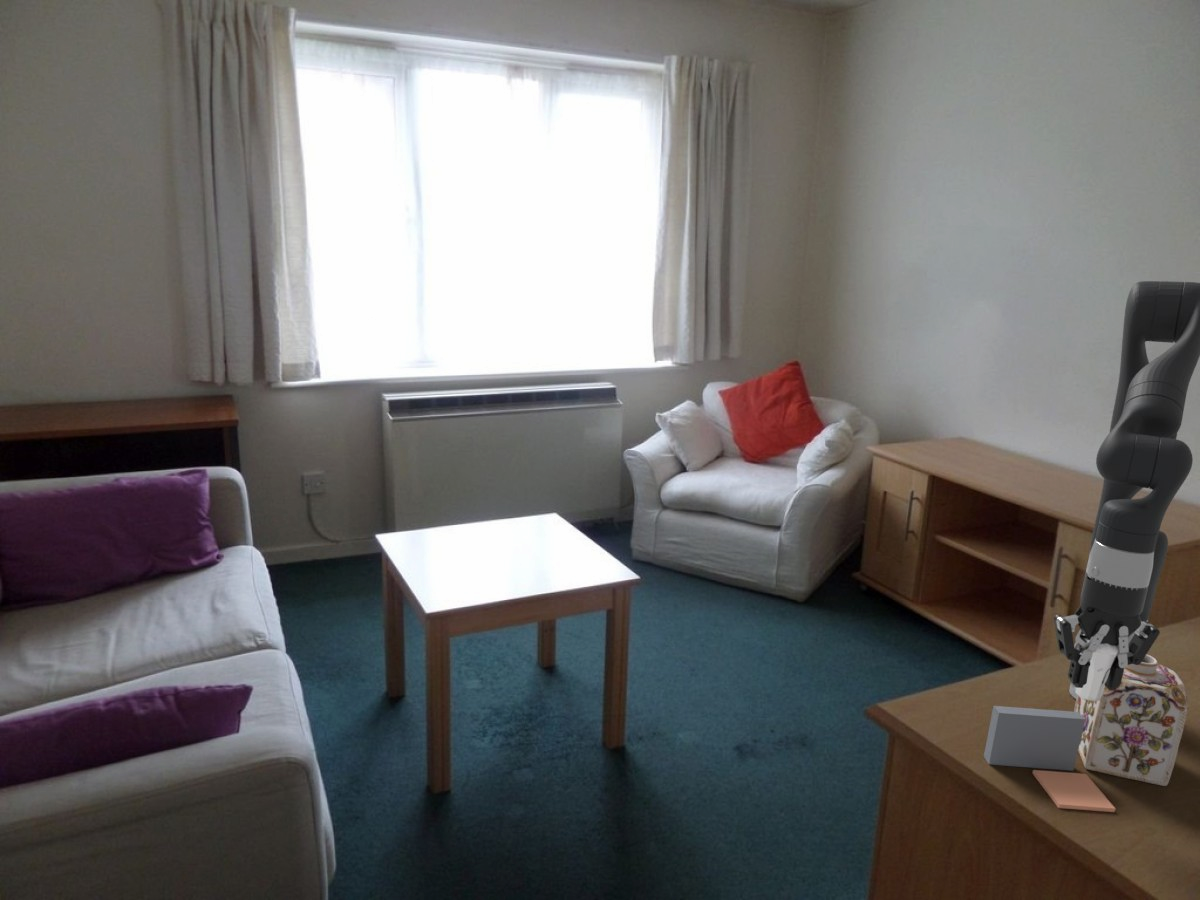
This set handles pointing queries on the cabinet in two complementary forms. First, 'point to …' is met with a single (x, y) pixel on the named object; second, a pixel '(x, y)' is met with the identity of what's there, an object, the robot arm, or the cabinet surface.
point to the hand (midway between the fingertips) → (1092, 685)
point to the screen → (1034, 738)
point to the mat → (1073, 791)
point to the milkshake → (1097, 671)
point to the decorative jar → (1135, 724)
